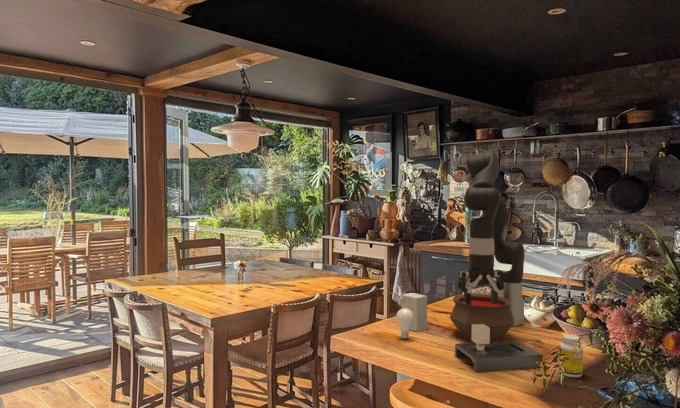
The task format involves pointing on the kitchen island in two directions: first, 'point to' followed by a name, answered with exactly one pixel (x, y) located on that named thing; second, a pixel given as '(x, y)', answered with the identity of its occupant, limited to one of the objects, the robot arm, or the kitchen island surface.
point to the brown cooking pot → (482, 315)
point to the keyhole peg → (480, 336)
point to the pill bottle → (571, 356)
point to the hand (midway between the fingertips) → (480, 304)
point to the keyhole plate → (500, 356)
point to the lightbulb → (405, 321)
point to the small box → (416, 310)
